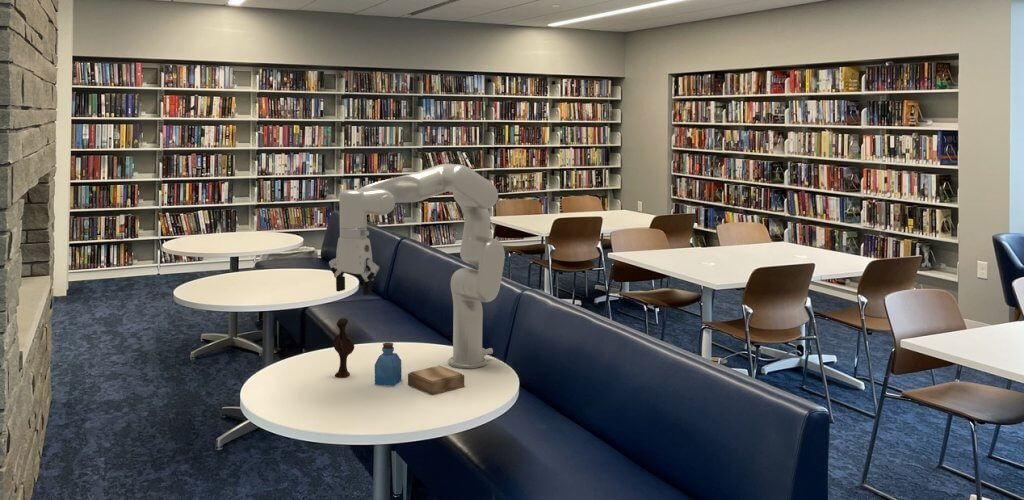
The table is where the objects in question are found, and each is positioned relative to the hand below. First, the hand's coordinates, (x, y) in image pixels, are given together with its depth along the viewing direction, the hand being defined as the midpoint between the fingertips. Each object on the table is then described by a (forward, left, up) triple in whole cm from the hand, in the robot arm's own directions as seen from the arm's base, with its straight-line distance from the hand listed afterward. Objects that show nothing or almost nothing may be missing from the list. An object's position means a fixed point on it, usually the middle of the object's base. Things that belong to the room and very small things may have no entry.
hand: (353, 292), depth 227 cm
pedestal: (-21, +12, -29) cm, 38 cm away
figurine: (-5, -14, -29) cm, 33 cm away
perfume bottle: (-12, 0, -29) cm, 32 cm away
